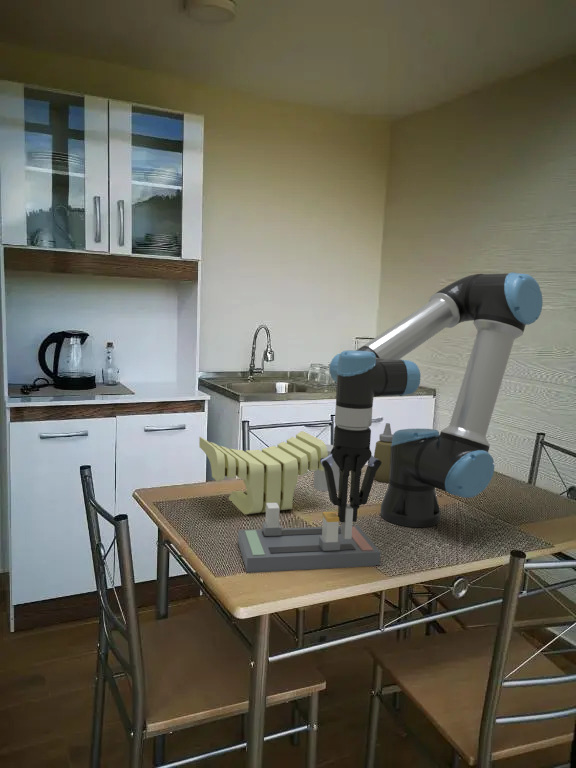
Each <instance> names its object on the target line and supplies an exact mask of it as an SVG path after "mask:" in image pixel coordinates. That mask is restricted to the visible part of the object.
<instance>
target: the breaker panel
mask: <svg viewBox="0 0 576 768" xmlns="http://www.w3.org/2000/svg"><path fill="white" fill-rule="evenodd" d="M280 511H281V510H280V508H279V506H278V504H277V503H266V512H265V521H262V526H261V527H262V528H257V529H256V528H254V529H251V528H250V529H238V533H237V534H238V536H237V539H238V540H237V543H238V546H239V550H240V555H241V557H242V561H243V564H244V568H245V571H246V573H261V572H263V573H266V572H281V571H282V572H283V571H300V570H301V571H305V570H307V571H308V570H321V569H324V570H325V569H327V570H328V569H340V568H341V569H342V568H346V569H347V568H362V567H363V566H366V567H377V566H376V565H380V566H381V555H382V552H381V550H380V549H379V548H378V547H377V545H375V544H374V543H373V540H371V539H370V537H369V536H368V535H367V533H365V531H364V530H363V529H362V528H361V527H360V526H359V525H352V538H351V539H344V537H343V536H342V535H341V525H338V539H339V541H340V550H332V551H323V550H322V548H321V547H320V545H319V536H322V526H310V527H308V526H306V527H286V528H285V527H282V526H281V524H280V513H281V512H280ZM361 566H362V567H361ZM363 568H364V567H363Z"/></svg>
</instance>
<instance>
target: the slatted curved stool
mask: <svg viewBox="0 0 576 768" xmlns="http://www.w3.org/2000/svg"><path fill="white" fill-rule="evenodd" d="M198 441H199V442H198V443H199V445H198V446H199V448H200V449H201V450H202V451H203V453H204V454H205V455H206V457H207V458H208V460H209V464H210V469H211V478H212V479H214V480H215V481H216V482H220V481H223V480H225V479H226V478H227V479H234V478H236V477H237V478H239V479H242V481H243V483H244V485H245V489H246V490H244V491H242V490H237V491H231V493H230V495H229V497H228V498H227V499H228V501H230V502H231V501H232V502H231V503H232V504H233V505H234V506H235V507H236V508H237V509H238V510H239V511H240V512H241V513H243V514H244V515H253V514H260V513H266V503H277V504H278V506H279V508H280V511H286V510H293V498H294V493H295V490H296V487H297V484H298V481H299V476H300V477H302V476H304V475H305V474H306V473H308V472H309V471H311V472H315V471H316V470H318V469H319V470H321V471H324V468H323V466H322V465H321V463H320V459H321V458H324V459H325V458H326V457H328V451H327V447H326V445H327V444H326V443H325V442H324V441H323V440H322V439H320V438H318V437H315V436H314V435H313V434H309V432H306V431H303V430H301V431H300V432H298V433H297V434H295V437H294V436H292V437H290V438H288V439H286V442H285V441H282V442H279V443H277V445H272V446H269V447H268V446H267V447H264V448H261V450H260V449H253V450H252V449H249V450H247V449H246V450H245V451H244V450H243V449H233V448H228V447H225V446H222V445H218V444H217V443H215V442H212V441H209V440H207V439H205V438H203V437H201V436H199V440H198Z"/></svg>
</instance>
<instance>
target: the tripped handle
mask: <svg viewBox="0 0 576 768" xmlns="http://www.w3.org/2000/svg"><path fill="white" fill-rule="evenodd" d="M339 522H340V521H339V517H338V513H336V511H323V512H322V526H321V527H322V536H319V545H320V547H321V548H322V550H323V551H332V550H340V541H339V539H338V526H340V525H339Z"/></svg>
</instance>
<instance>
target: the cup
mask: <svg viewBox="0 0 576 768" xmlns="http://www.w3.org/2000/svg"><path fill="white" fill-rule="evenodd" d="M325 445H326V447H327V451H328V456H329V455H331V450H332V449H333V444H325ZM331 468H332V470H333V475H334V480H335V486H336V491H337V492H338V490H339V467H338V466H337V464H336V463H335V461H334V460H333V466H332V467H331ZM313 472H314V475H313V488H314V489H315V490H317V491H320V490H321V492H325V491H328V487H327V482H326V476H325V471H321V470H319V469H318V470H316V471H313Z"/></svg>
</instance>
